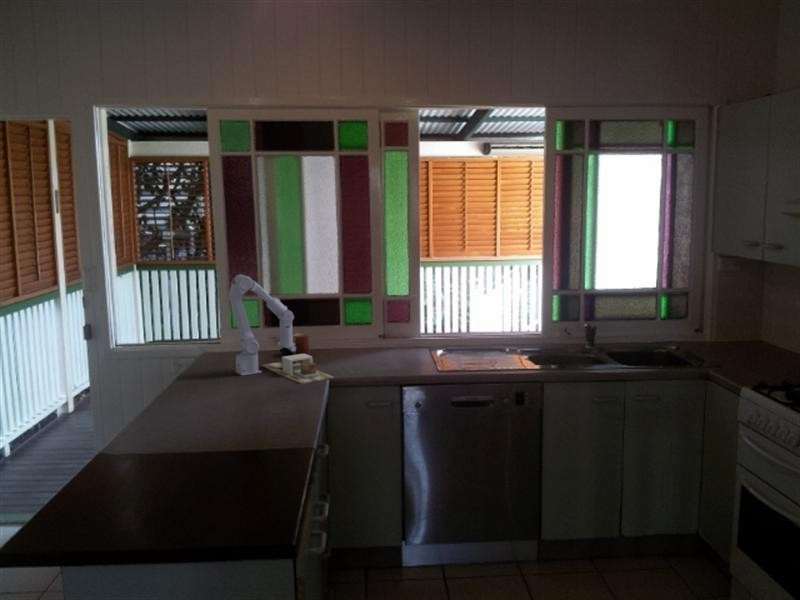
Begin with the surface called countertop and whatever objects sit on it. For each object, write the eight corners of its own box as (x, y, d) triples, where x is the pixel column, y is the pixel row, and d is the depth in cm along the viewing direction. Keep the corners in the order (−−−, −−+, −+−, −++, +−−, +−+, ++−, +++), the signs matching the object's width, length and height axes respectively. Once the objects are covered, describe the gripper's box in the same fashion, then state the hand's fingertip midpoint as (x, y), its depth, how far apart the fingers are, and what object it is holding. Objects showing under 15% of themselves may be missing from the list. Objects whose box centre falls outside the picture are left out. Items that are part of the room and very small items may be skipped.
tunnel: (290, 374, 276) (290, 360, 275) (282, 371, 282) (282, 356, 281) (312, 371, 282) (312, 356, 281) (304, 367, 289) (304, 353, 288)
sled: (305, 378, 269) (305, 368, 269) (281, 367, 288) (281, 359, 287) (319, 375, 273) (319, 366, 273) (295, 365, 292) (295, 357, 291)
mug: (302, 352, 325) (301, 332, 323) (314, 354, 319) (313, 334, 318) (284, 356, 315) (284, 336, 314) (297, 358, 310) (296, 338, 308)
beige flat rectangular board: (300, 384, 263) (300, 382, 263) (261, 366, 294) (261, 364, 294) (333, 378, 273) (333, 376, 273) (292, 361, 304) (292, 359, 304)
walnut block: (306, 374, 270) (306, 365, 270) (300, 372, 274) (300, 363, 274) (316, 373, 273) (316, 364, 273) (311, 370, 277) (310, 362, 277)
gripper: (301, 336, 285) (302, 365, 287) (287, 331, 297) (287, 359, 299) (287, 338, 281) (288, 367, 283) (273, 333, 293) (274, 361, 295)
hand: (287, 363), depth 291 cm, fingers closed
